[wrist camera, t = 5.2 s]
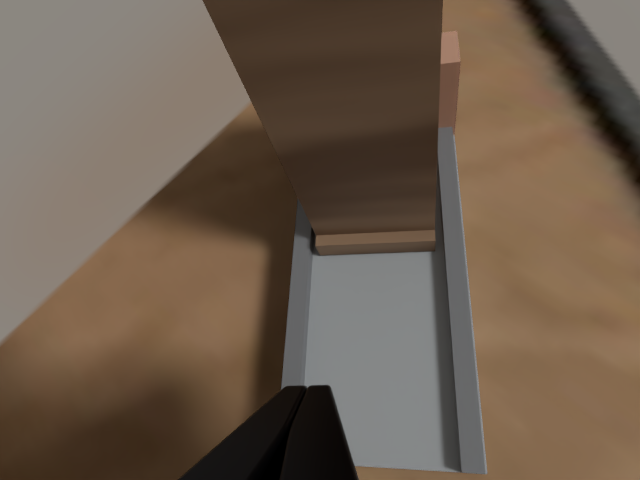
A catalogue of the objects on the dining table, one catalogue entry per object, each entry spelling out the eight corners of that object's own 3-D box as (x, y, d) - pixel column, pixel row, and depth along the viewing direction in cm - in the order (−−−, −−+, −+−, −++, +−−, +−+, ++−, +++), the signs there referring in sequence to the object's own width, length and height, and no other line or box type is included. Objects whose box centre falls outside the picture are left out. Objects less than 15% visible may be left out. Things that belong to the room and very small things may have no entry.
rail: (482, 473, 13) (508, 477, 9) (287, 461, 15) (230, 460, 10) (450, 126, 19) (456, 30, 15) (311, 139, 20) (281, 54, 16)
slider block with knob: (434, 251, 15) (453, -218, 5) (320, 255, 16) (120, -136, 6) (427, 138, 17) (429, -360, 7) (326, 147, 18) (190, -284, 8)
